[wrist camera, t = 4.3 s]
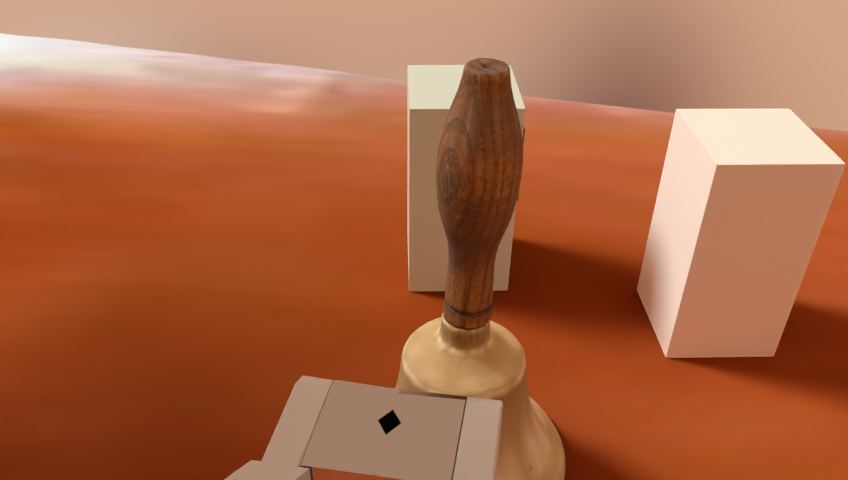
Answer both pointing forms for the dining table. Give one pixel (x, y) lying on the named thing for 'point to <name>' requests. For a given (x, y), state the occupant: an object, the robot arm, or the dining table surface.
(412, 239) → the sage block marked
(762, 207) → the cream block marked
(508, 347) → the hand bell
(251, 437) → the dining table surface
